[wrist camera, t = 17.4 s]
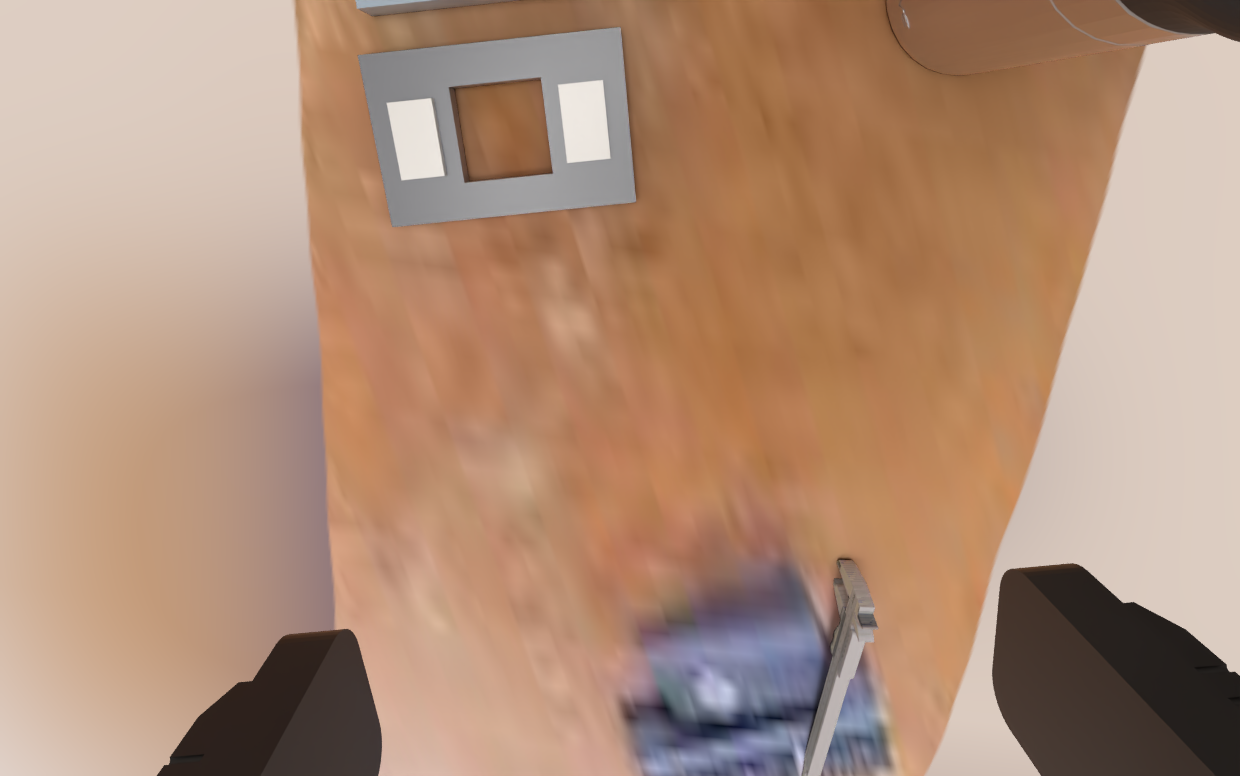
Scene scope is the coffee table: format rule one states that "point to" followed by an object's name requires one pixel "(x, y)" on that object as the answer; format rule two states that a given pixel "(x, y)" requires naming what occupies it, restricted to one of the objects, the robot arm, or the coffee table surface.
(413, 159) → the block
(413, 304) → the coffee table surface
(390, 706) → the coffee table surface
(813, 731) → the caliper
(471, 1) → the parts tray
